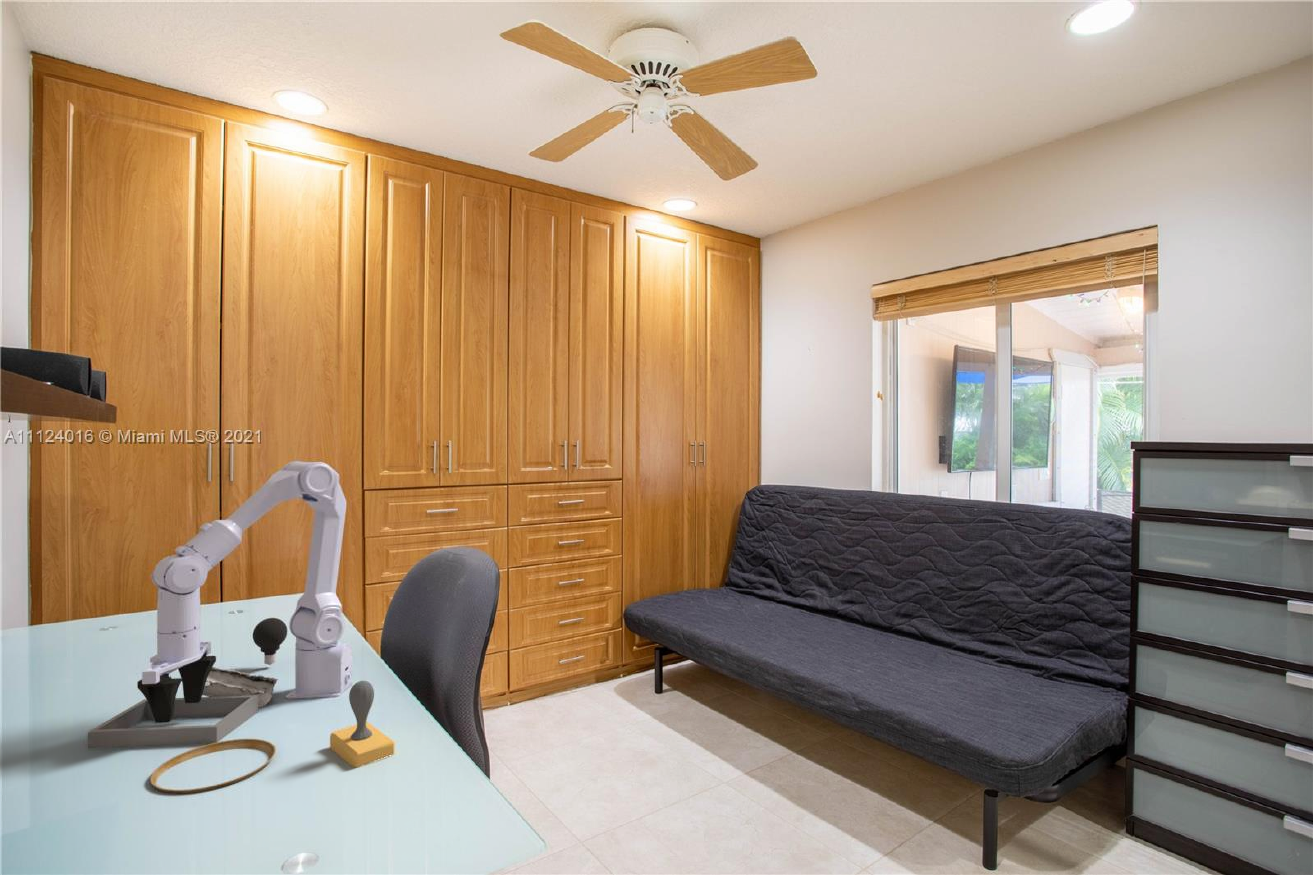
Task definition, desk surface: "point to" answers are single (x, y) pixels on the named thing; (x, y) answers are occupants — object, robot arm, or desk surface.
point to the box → (122, 735)
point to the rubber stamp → (361, 731)
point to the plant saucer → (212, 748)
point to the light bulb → (270, 637)
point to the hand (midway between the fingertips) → (178, 711)
